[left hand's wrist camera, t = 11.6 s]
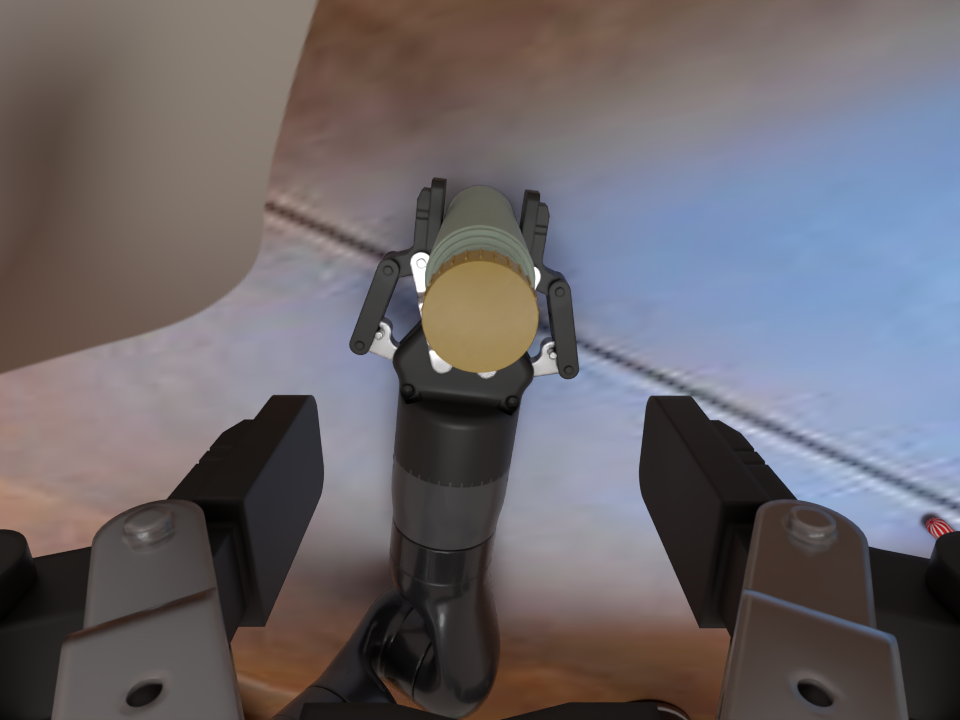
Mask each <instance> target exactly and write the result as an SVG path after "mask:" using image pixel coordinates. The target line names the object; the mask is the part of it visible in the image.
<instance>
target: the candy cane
mask: <svg viewBox="0 0 960 720" xmlns="http://www.w3.org/2000/svg"><path fill="white" fill-rule="evenodd" d="M926 528H927V530H928V531H929V532H930V533H931V534H932V535H933V536H934V537H935V538H936V539H938V538H939V537H940V536H941V535H943V534H945V533H948V532H954V530H953V529H952V528H951V527H950V526H949V525H948V524H947V523H946V522H945V521H943V520H942V519H940V518H930V519H929V520H928V521H927V522H926Z"/></svg>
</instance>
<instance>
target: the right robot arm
mask: <svg viewBox="0 0 960 720" xmlns="http://www.w3.org/2000/svg"><path fill="white" fill-rule="evenodd" d="M446 183H447V179H443V178H435V177H434V178H433V179H432V185H431V188H426V187H424V188H423V189H422V191H421V193H420V195H419V197H418V199H417V211H416V223H415V235H414V245H413V246H412V247H411V248H410V249H407V250H403V251H399V252H396V251H390V252H388V253H387V254H386V255H385V257H384V258H383V260H382V261H381V262H380V263H379V265H378V267H377V270H376V272H375V275H374V278H373V281H372V283H371V286H370V289H369V291H368V294H367V297H366V299H365V302H364V305H363V308H362V310H361V313H360V316H359V318H358V321H357V324H356V326H355V329H354V332H353V335H352V337H351V340H350V344H349V345H350V349H351V350H352V352H354V353H355V354H358V355H364V354H366V353H367V352H368V351H369V352H371V353H374V354H376V355H379V356H382V357H384V358H387V359H389V360H392V361H393V366H394V369H395V371H396V372H397V375H398V378H399V397H398V409H397V422H396V434H395V446H394V455H393V471H392V501H393V518H392V530H391V542H390V558H389V570H390V576H391V579H392V582H393V584H394V587H391V588H389V589H387V590H386V591H384V592H383V593H382V594H381V595H380V596H379V597H378V598H377V599H376V600H375V601H374V602H373V604H372V605H371V606H370V608H369V609H368V611H367V612H366V614H365V616H364V617H363V619H362V620H361V622H360V623H359V625H358V627H357V628H356V629H355V631H354V632H353V634H352V635H351V637H350V638H349V639H348V641H347V642H346V644H345V645H344V646H343V648H342V649H341V650H340V652H339V653H338V654H337V656H336V657H335V658H334V659H333V661H332V662H331V663H330V665H329V666H328V667H327V669H326V670H325V671H324V672H323V673H322V675H321V676H320V677H319V678H318V679H317V680H316V681H315V682H314V683H312V684H311V685H310V686H309V687H308V688H306V689H305V690H304V691H303V692H302V693H301V694H299V695H298V696H297V697H296V698H295V699H294V700H292V701H291V702H290V703H289V704H288V705H287V706H285V707H284V708H283V709H282V710H281V711H279V712H278V713H277V714H276V715H275V716H274V717H272V718H271V719H270V720H299V717H300V714H301V711H302V707H303V704H304V702H391V703H395V704H397V703H396V701H395V699H394V698H393V696H392V695H391V693H390V692H389V690H388V689H387V687H386V686H385V685H384V683H383V682H382V681H385V682H386V683H388V684H389V685H390V686H392V687H393V688H394V689H396V690H397V691H398V692H400V693H401V694H402V695H404V696H405V697H407V698H408V699H409V700H411V701H412V702H413V703H415V704H416V705H417V706H419V707H420V708H421V709H423V710H424V711H426V712H430V713H434V714H438V715H442V716H446V717H450V718H454V719H458V720H462V719H464V718H467V717H468V716H470V715H471V714H473V713H474V712H476V711H477V710H478V709H479V708H480V707H481V706H482V704H483V703H484V702H485V700H486V699H487V697H488V695H489V694H490V692H491V689H492V687H493V685H494V682H495V679H496V675H497V671H498V665H499V658H500V636H499V627H498V620H497V614H496V608H495V602H494V596H493V588H492V582H491V577H490V570H489V567H490V561H491V556H492V550H493V544H494V538H495V532H496V525H497V521H498V517H499V514H500V512H501V509H502V506H503V502H504V498H505V493H506V487H507V481H508V475H509V469H510V463H511V457H512V451H513V445H514V439H515V433H516V427H517V421H518V415H519V409H520V403H521V398H522V395H523V393H524V391H525V389H526V388H527V387H528V386H529V385H530V383H531V382H532V380H533V377H536V376H543V375H550V374H557V373H559V374H560V376H561V377H562V378H564V379H572V378H574V377H575V376H577V374H578V372H579V364H578V355H577V346H576V336H575V327H574V318H573V308H572V299H571V290H570V287H569V285H568V283H567V281H566V280H565V278H564V276H563V275H562V274H561V273H560V272H556V271H553V270H551V269H549V268H547V267H546V266H544V265H543V262H542V260H543V253H544V247H545V241H546V234H547V229H548V223H549V217H550V216H549V211H548V206H547V205H546V204H545V203H540V193H539V192H538V191H534V190H525V193H524V199H523V206H522V212H521V219H520V226H519V228H520V230H521V233H522V236H523V238H524V241H525V243H526V246H527V248H528V251H529V253H530V256H531V259H532V261H533V264H534V268H535V276H536V283H535V290H537V291H539V292H541V293H543V294H545V295H546V298H547V306H548V314H549V322H550V330H551V337H547V338H545V339H544V340H543V341H542V342H541V344H540V351H539V353H538V354H537V355H536V356H535V357H532V358H531V357H530V356H529V354H528V352H527V351H526V352H525V353H524V355H522V356H521V357H520V358H519V359H518V360H517V361H515V362H514V363H513V364H511V365H509V366H507V367H505V368H503V369H500V370H497V371H493V372H486V373H474V372H468V371H463V370H460V369H458V368H455V367H453V366H451V365H449V364H448V363H446V362H445V361H443V360H442V359H441V358H440V357H439V356H438V355H437V354H436V353H435V352H434V351H433V350H432V348H431V347H430V345H429V343H428V341H427V339H426V337H425V334H424V331H423V327H422V319H421V320H420V321H419V322H418V323H417V324H416V325H415V326H414V328H413V329H412V330H411V331H410V332H409V333H408V334H407V335H406V336H405V337H404V338H403V339H402V340H401V341H400V342H397V341H396V340H395V339H394V337H393V335H392V331H393V324H392V322H391V321H390V320H389V319H388V318H385V317H384V315H385V312H386V310H387V307H388V304H389V302H390V299H391V297H392V294H393V291H394V289H395V286H396V284H397V281H398V278H400V277H405V276H409V275H413V278H414V282H415V286H416V291H417V298H418V305H419V310H420V314H421V315H422V312H421V307H422V304H423V301H424V299H425V298H423V296H424V293H425V290H426V289H425V279H424V277H425V269H426V265H427V262H428V259H429V256H430V254H431V251H432V249H433V246H434V243H435V241H436V238H437V236H438V233H439V231H440V228H441V225H442V223H443V214H444V204H445V194H446ZM421 318H422V317H421ZM648 702H649V701H648ZM656 704H657V707H658V711H659V714H660V717H661V720H690V719H689V717H688V716H687V715H686V714H685V713H684V712H683V711H681V710H680V709H678V708H676V707H674V706H672V705H669V704H665V703H661V702H656Z"/></svg>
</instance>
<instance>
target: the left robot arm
mask: <svg viewBox="0 0 960 720" xmlns="http://www.w3.org/2000/svg"><path fill="white" fill-rule="evenodd" d="M323 481H324V464H323V455H322V446H321V437H320V428H319V419H318V410H317V404H316V401H315V398H314V397H313V396H312V395H273V396H272V397H271V398H270V399H269V400H268V402H267V403H266V404H265V405H264V407H263V408H262V409H261V411H260V412H259V413H258V414H257V416H256V417H255V418H254V420H243V421H241V422H240V423H238V424H236V425H235V426H233V427H231V428H229V429H228V430H226V431H224V432H223V433H222V434H221V435H220V436H219V438H218V439H217V440H216V441H215V442H214V443H213V445H212V446H211V447H210V451H207V452H206V453H205V454H204V455H203V457H202V458H201V459H200V460H199V464H196V465H195V466H194V467H193V468H192V470H191V471H190V472H189V473H188V474H187V476H186V477H185V478H184V479H183V480H182V482H181V483H180V484H179V485H178V486H177V487H176V489H175V490H174V491H173V492H172V493H171V495H170V496H169V497H168V498H167V499H166V500H159V501H154V502H149V503H146V504H142V505H139V506H136V507H134V508H131V509H129V510H127V511H125V512H122V513H121V514H119V515H117V516H115V517H114V518H112V519H111V520H110V521H108V522H107V523H106V524H105V525H103V526H102V527H101V528H100V530H99V531H98V532H97V533H96V535H95V537H94V538H93V542H92V546H91V547H86V548H82V549H77V550H71V551H66V552H61V553H56V554H51V555H46V556H41V557H36V558H32V555H31V552H30V549H29V546H28V543H27V540H26V538H25V537H24V535H22V534H21V533H19V532H16V531H13V530H6V529H0V720H245V718H244V713H243V707H242V702H241V697H240V691H239V686H238V680H237V675H236V669H235V664H234V659H233V654H232V649H231V644H230V643H231V640H232V638H233V636H234V634H235V632H236V630H237V628H238V627H265V625H266V622H267V620H268V618H269V615H270V613H271V611H272V608H273V606H274V604H275V601H276V599H277V597H278V594H279V592H280V590H281V588H282V585H283V583H284V581H285V578H286V576H287V574H288V571H289V569H290V567H291V564H292V562H293V560H294V557H295V555H296V553H297V550H298V548H299V546H300V543H301V541H302V539H303V536H304V534H305V532H306V529H307V527H308V525H309V522H310V520H311V518H312V516H313V513H314V511H315V509H316V506H317V504H318V502H319V499H320V497H321V493H322V489H323ZM639 482H640V489H641V494H642V497H643V500H644V502H645V505H646V507H647V509H648V511H649V514H650V516H651V518H652V521H653V523H654V525H655V527H656V530H657V532H658V534H659V537H660V539H661V541H662V543H663V546H664V548H665V550H666V553H667V555H668V557H669V559H670V562H671V564H672V566H673V569H674V571H675V573H676V575H677V578H678V580H679V582H680V585H681V587H682V589H683V591H684V594H685V596H686V598H687V600H688V603H689V605H690V607H691V610H692V612H693V614H694V616H695V619H696V621H697V623H698V626H699V628H727V630H728V632H729V635H730V637H731V639H730V644H729V649H728V654H727V659H726V664H725V669H724V675H723V680H722V686H721V691H720V697H719V702H718V707H717V713H716V718H715V720H960V531H954V532H948V533H945V534H943V535H941V536H940V537H939V538H938V539H937V540H936V543H935V546H934V549H933V552H932V555H931V558H930V559H927V558H922V557H917V556H912V555H907V554H902V553H897V552H892V551H887V550H881V549H877V548H873V547H869V546H868V542H867V538H866V537H865V535H864V533H863V532H862V531H861V530H860V528H859V527H858V526H857V525H855V524H854V523H853V522H852V521H850V520H849V519H848V518H846V517H845V516H843V515H841V514H839V513H838V512H835V511H833V510H831V509H829V508H826V507H824V506H821V505H818V504H814V503H811V502H806V501H801V500H797V499H796V497H795V496H794V495H793V494H792V493H791V492H790V490H789V489H788V488H787V487H786V486H785V484H784V483H783V482H782V481H781V480H780V479H779V477H778V476H777V475H776V474H775V473H774V472H773V470H772V469H771V468H770V467H769V466H768V465H765V461H764V460H763V459H762V457H761V456H760V455H759V454H758V453H757V452H754V448H753V447H752V446H751V445H750V443H749V442H748V441H747V440H746V439H745V437H744V436H743V435H742V434H741V433H740V432H738V431H736V430H735V429H733V428H731V427H729V426H728V425H726V424H724V423H723V422H721V421H719V420H709V418H708V417H707V416H706V414H705V413H704V412H703V411H702V409H701V408H700V407H699V405H698V404H697V403H696V402H695V400H694V399H693V398H692V397H691V396H650V397H649V399H648V402H647V405H646V412H645V421H644V429H643V438H642V447H641V456H640V465H639ZM299 720H458V719H454V718H450V717H446V716H442V715H438V714H434V713H430V712H426V711H422V710H418V709H414V708H410V707H406V706H402V705H398V704H395V703H391V702H304V704H303V707H302V711H301V714H300V717H299ZM502 720H661V717H660V714H659V711H658V707H657V704H656V702H569V703H565V704H562V705H558V706H554V707H550V708H546V709H542V710H538V711H534V712H530V713H526V714H522V715H518V716H514V717H510V718H506V719H502Z"/></svg>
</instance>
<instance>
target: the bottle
mask: <svg viewBox="0 0 960 720" xmlns="http://www.w3.org/2000/svg"><path fill="white" fill-rule="evenodd" d="M480 248H481V249H482V250H487V251H493V252H494V250H495V251H497V253H500V254H502V255H504V256H506V257H507V256H509V257H510V259H511V260H513V261H514V262H515V263H517V264H520V265H521V268H522V270H523V271H524V272H525V274H526V275H529V277H530V280H531V283H532V288H533V287H534V289H535V283H536V276H535V268H534V264H533V261H532V259H531V256H530V253H529V251H528V248H527V246H526V243H525V241H524V238H523V236H522V233H521V230H520V228H519V225H518V223H517V220H516V218H515V215H514V213H513V210H512V207H511V205H510V203H509V201H508V200H507V199H506V197H505V196H504V195H503V194H502V193H500V192H499V191H497V190H496V189H494V188H491V187H488V186H472V187H469V188H466V189H464V190H463V191H461V192H460V193H458V194H457V195H456V196H455V197H454V199H453V200H452V201H451V203H450V205H449V207H448V210H447V213H446V215H445V218H444V220H443V223H442V225H441V228H440V231H439V233H438V236H437V238H436V241H435V243H434V246H433V249H432V251H431V254H430V256H429V259H428V262H427V265H426V269H425V277H424V279H425V289H426V287H427V286H429V282H430V279H431V276H432V274H435V273H436V271H437V270H438V269H439V268H440V264H441V263H443V264H444V263H445V262H446V261H448V260H449V259H450V258H452V255H455V256H456V255H458V254H461V253H463V252H465V250H468V251H473V250H480Z"/></svg>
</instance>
